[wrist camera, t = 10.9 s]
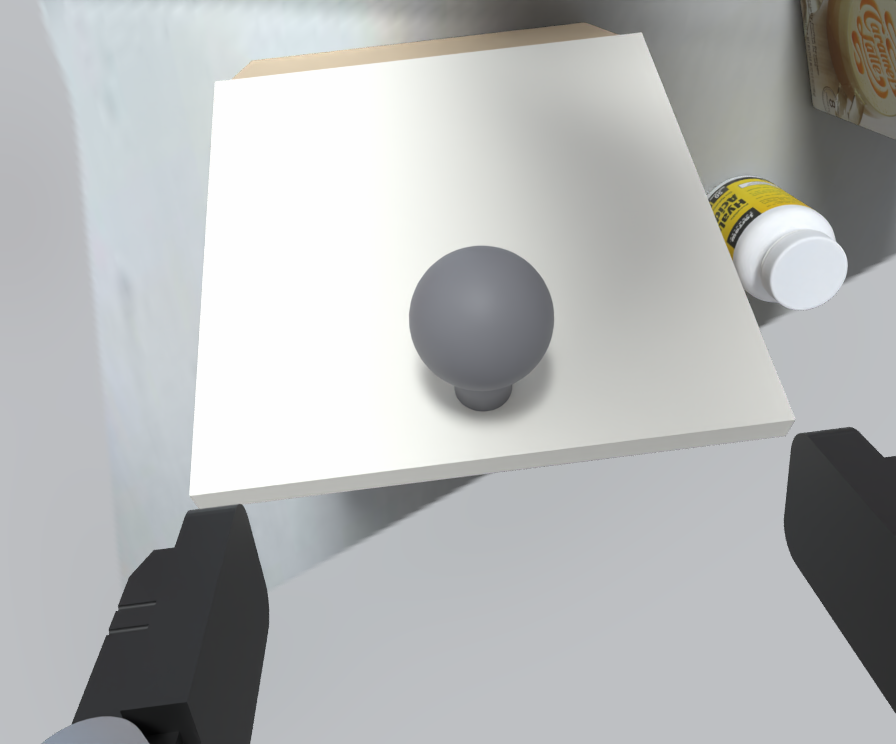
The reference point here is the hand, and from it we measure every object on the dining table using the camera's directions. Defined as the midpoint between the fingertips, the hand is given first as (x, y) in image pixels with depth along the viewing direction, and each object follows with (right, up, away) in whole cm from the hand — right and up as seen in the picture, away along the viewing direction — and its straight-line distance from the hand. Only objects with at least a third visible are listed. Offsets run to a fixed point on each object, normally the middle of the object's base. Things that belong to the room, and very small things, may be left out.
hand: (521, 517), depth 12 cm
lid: (-1, +7, +19) cm, 20 cm away
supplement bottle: (+16, +12, +39) cm, 44 cm away
